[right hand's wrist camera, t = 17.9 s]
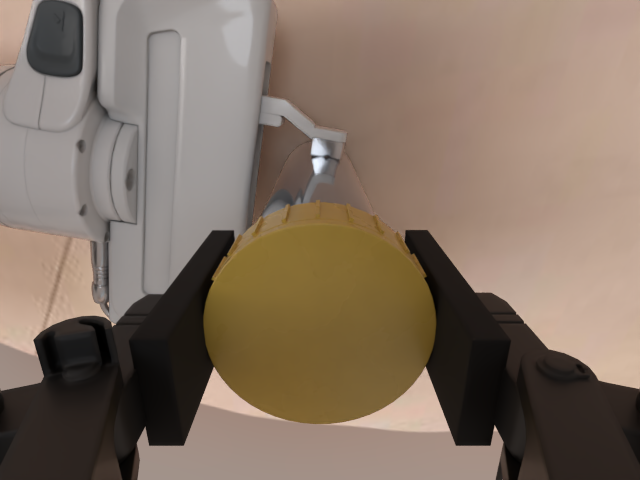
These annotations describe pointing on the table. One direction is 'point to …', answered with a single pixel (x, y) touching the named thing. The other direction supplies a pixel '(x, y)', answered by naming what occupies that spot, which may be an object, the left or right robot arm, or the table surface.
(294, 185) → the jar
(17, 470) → the right robot arm
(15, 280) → the table surface
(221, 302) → the lid
